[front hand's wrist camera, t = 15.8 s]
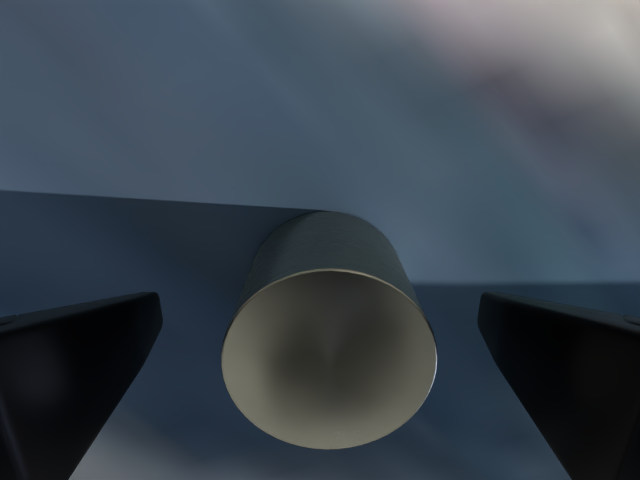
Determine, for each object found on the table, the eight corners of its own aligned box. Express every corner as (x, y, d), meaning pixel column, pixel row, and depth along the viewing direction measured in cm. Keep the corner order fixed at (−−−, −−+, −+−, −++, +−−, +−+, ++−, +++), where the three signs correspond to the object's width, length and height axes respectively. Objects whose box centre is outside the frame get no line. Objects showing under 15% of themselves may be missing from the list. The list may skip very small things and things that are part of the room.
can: (230, 317, 13) (192, 412, 9) (284, 185, 12) (266, 233, 8) (361, 365, 14) (378, 474, 10) (429, 247, 13) (479, 319, 9)
